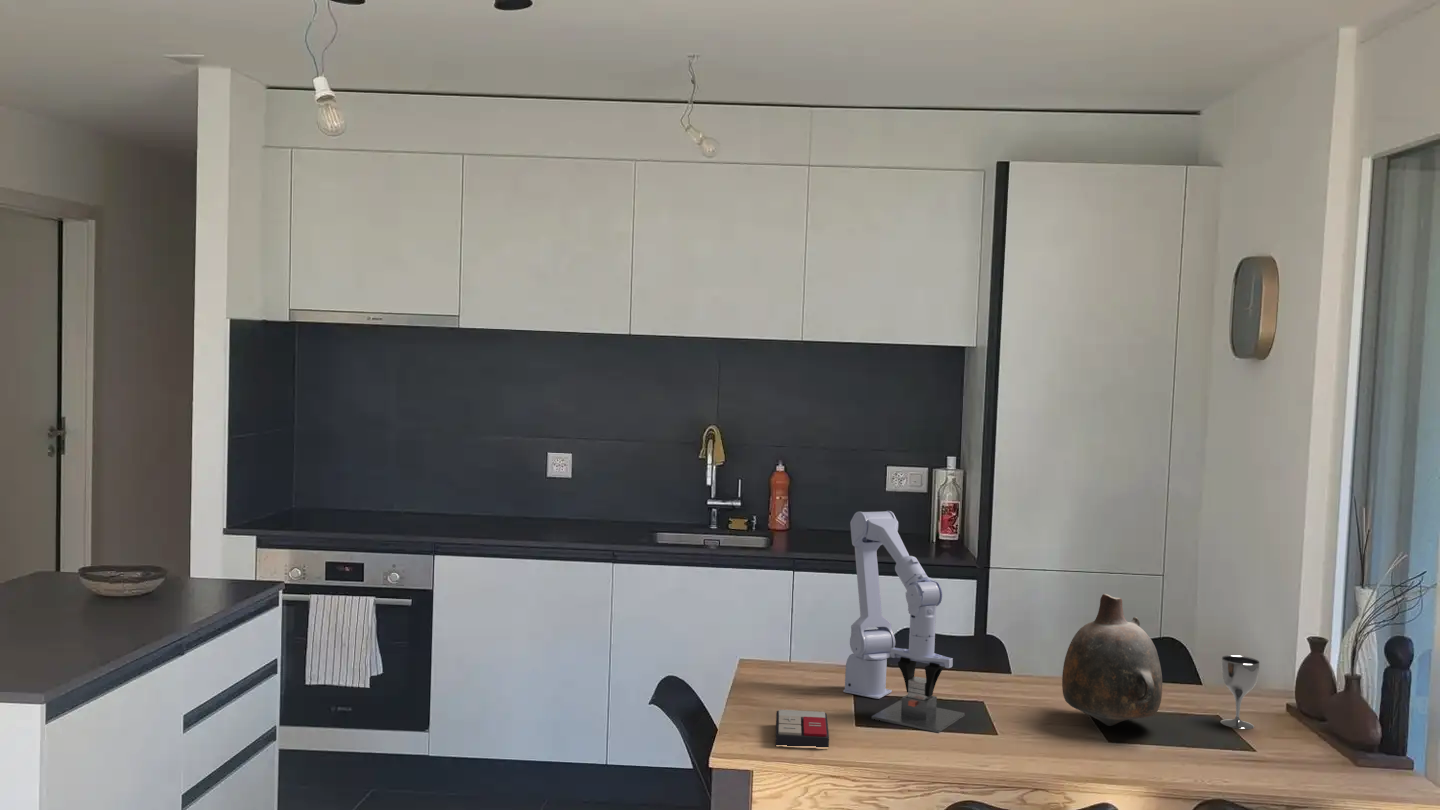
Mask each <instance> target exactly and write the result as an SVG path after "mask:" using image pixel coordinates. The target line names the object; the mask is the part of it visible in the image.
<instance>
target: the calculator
mask: <svg viewBox="0 0 1440 810" xmlns="http://www.w3.org/2000/svg"><path fill="white" fill-rule="evenodd" d="M775 719H776V720H775V746H776V745H787V746H816V747H829V748H830V746H829V745H830V732H829V723H828V714H827V713H826V712H825V711H817V710H814V711H813V710H812V711H811V710H810V711H809V710H796V709H795V710H794V709H793V710H792V709H778V710H776V717H775Z"/></svg>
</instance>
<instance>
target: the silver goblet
mask: <svg viewBox="0 0 1440 810" xmlns="http://www.w3.org/2000/svg"><path fill="white" fill-rule="evenodd" d="M1260 664H1261V663H1260V660H1258V659H1255V658H1253V657H1249V656H1245V655H1244V656H1243V655H1232V654H1231V655H1230V654H1229V655H1223V656H1222V657H1221V675H1222V679H1223V682H1224V684H1225V686H1226V687H1227V689H1228V690H1229V691H1230V692H1231V693H1232V695H1233V698H1234V701H1235V716H1234V717H1235V718H1233V719H1232V718H1227V719H1221V720H1220V724H1222V725H1223V726H1226V727H1229V728H1233V729H1238V730H1250V729H1251V730H1252V729H1254V728H1255V725H1254V724H1252V723H1250V722H1249V721H1244V720H1242V719H1241V718H1240V712H1241V711H1240V710H1241V705H1242V701H1243V699H1244V697H1245V696H1246V695H1247V694H1248V693H1249V692H1251V691H1252V690H1253V689H1254V688H1255V686H1256V684H1257V682H1258V678H1259V674H1260V673H1259V672H1260Z"/></svg>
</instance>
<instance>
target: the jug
mask: <svg viewBox="0 0 1440 810" xmlns="http://www.w3.org/2000/svg"><path fill="white" fill-rule="evenodd" d="M1124 614H1125V613H1124V610H1123V599H1122V598H1121V597H1114V596H1111V595H1110V594H1107V593H1103V594H1102V595H1101V597H1100V600H1099V607H1098V611H1097V615H1096V617H1095V619H1094V620H1092V621H1090V622H1088V623H1085V624H1084V625H1083V626H1081V628H1079V629H1078V630H1077V631H1076V633H1075V634H1074V636H1073V637H1072V639H1071V641H1070V643H1069V645H1068V648H1067V650H1066V653H1065V657H1064V662H1063V666H1062V667H1063V668H1062V675H1061V676H1062V677H1061V680H1062V681H1061V682H1062V683H1061V687H1062V689H1061V690H1062V694H1063V695H1062V696H1063V698H1064V700H1065V702H1066V703H1067V704H1068V705H1069V706H1070V707H1072V708H1074V709H1075V710H1077V711H1080V712H1082V713H1084V714H1086V715H1087V716H1088V715H1089V716H1090V717H1092V718H1094V719H1097V720H1098V721H1099V722H1101V723H1102V724H1104V725H1106V726H1108V727H1111V726H1115V725H1117V724H1119V723H1121V722H1124V721H1128V720H1136V719H1145V718H1149V717H1153V716H1154V715H1156V714H1157V712H1158V710H1159V709H1160V707H1161V703H1162V698H1163V697H1162V696H1163V675H1162V667H1161V662H1160V659H1159V658H1160V657H1159V655H1158V654H1159V653H1158V651H1157V648H1156V646H1155V645H1156V644H1154V642H1153V640H1152V638H1151V637H1150V636H1149V634H1147V632H1146V631H1145V630H1144V629H1143V628H1142V627H1140V626H1141V623H1140V620H1139V618H1138V617H1137V616H1135V617H1133V618H1132V620H1131V621H1128V620H1126V618H1125V615H1124Z"/></svg>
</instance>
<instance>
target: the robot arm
mask: <svg viewBox="0 0 1440 810" xmlns="http://www.w3.org/2000/svg"><path fill="white" fill-rule="evenodd" d="M849 524H850V537H851V544H852V546H853V547H854V557H855V566H856V567H855V568H856V569H855V570H856V579H857V590H858V591H857V592H858V605H859V615H860V616H859V617H858V618H857V620H855V621H854V622H853V623H852V624H851V626H850V637H849V645H850V646H849V647H850V650H851V652H852V653H851V654H849V656H848V657H847V659H846V663H845V671H844V672H845V673H844V676H845V677H844V689H843V693H847V694H852V695H856V696H861V697H866V698H872V699H876V700H878V699H879V700H880V699H881V698H883V697H885V696H887V695H889V694H890V693H892V690H893V689H888V688H886V684H887V683H886V682H887V662H888V661H887V660H888V659H889V658H893V659H895V658H896V659H899V661H898V662H897V665H898V667H899V670H900V672H901V674H902V676H903V680H904V685H905V689H906V691H905V692H906V693H908V680H910V679H912V678H913V677H915V673H916V666H917V662H919V663H923V664H928V665H926V666H924V671H925V678H926V696H927V697H930V696H934V690H935V687H936V684H937V681H938V679H939V677H940V675H941V674H942V671H943V670H944V668H946V669H950V668H952V667H953V661H954V660H953V659H954V658H953V657H948V656H945V655H941V654H938V653H935V645H936V643H935V641H936V640H935V639H936V622H937V621H936V620H937V607H938V606H940V604H941V603H942V600H943V590H942V587H941V585H940V583H939V581H937V580H934V579H933V578H932V577H929V576H928V575H927V573H926V572H925V569H924V568H923V567H922V565H921V564H920V561H919V560H918V559H917V557H916V556H913V555H910V554H909V552H908V550H907V548H906V546H905V543H904V542H903V540H902V538H901V535H900V534H899V532H898V531H899V521H898V519H897V517H896V516H895V513H894V512H893V511H891V510H886V511H856V512H855V513H854V514H853V516H852V518H851V520H850V523H849ZM881 546H883V547H884V549H886V551H887V553H888V554H889V555H890V556H891V558H892V559H893V561H894V562H895V566H894V571H895V573H896V575H897V576H898V577H899V579H900V581H901V582H902V583H901V584H903V586H904V588H905V589H906V592H905V599H906V603H907V611H908V614H910V616H909V634H908V635H909V637H908V638H909V639H908V648H899V647H895V646H896V638H895V634H894V633H893V629H892V623H891V622H890V621H889V620H888V619H887V618H886V617H884V616H883V611H882V600H881V599H882V598H881V589H880V588H881V587H880V578H879V577H880V575H879V565H878V556H877V555H878V554H877V551H878V549H880V547H881ZM868 628H875V629H868Z"/></svg>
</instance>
